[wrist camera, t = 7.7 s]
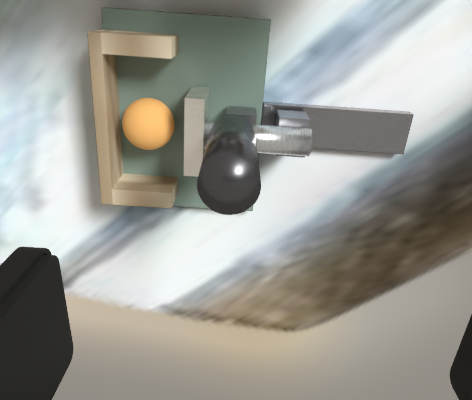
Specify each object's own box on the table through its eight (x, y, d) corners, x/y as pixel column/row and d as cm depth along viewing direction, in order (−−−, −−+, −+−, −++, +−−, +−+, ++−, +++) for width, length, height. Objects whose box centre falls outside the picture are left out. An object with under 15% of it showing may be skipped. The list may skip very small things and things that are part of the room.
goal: (178, 34, 27) (171, 37, 24) (177, 191, 32) (171, 208, 29) (102, 29, 27) (87, 31, 24) (113, 187, 32) (101, 203, 29)
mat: (269, 19, 27) (270, 20, 26) (252, 205, 33) (252, 211, 32) (106, 7, 27) (101, 7, 26) (118, 196, 33) (114, 202, 32)
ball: (141, 106, 25) (110, 96, 27) (143, 160, 26) (113, 146, 28) (185, 100, 27) (153, 91, 29) (184, 150, 29) (154, 138, 31)
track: (409, 111, 30) (413, 114, 29) (399, 150, 31) (403, 154, 30) (263, 101, 30) (263, 104, 29) (259, 141, 31) (259, 144, 30)
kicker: (307, 94, 28) (344, 141, 18) (298, 161, 30) (326, 238, 20) (192, 85, 28) (164, 129, 18) (190, 154, 30) (165, 228, 20)
